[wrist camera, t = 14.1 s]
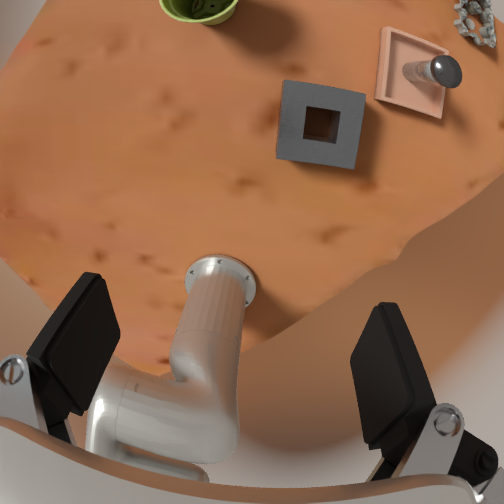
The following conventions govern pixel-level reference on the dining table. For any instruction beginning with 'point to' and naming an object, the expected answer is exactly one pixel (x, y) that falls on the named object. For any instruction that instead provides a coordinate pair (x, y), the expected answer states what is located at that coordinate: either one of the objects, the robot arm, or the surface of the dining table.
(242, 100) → the dining table surface
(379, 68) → the tray
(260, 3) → the dining table surface
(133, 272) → the dining table surface
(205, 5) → the plant pot
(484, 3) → the egg carton
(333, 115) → the socket block
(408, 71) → the pin
